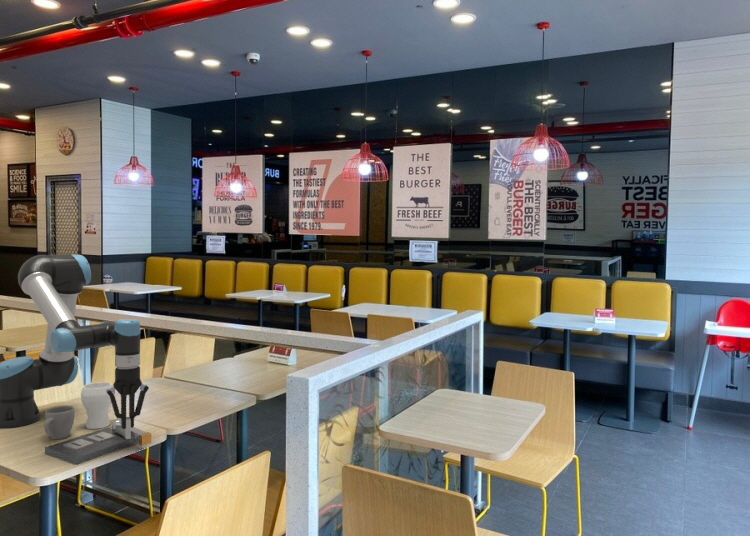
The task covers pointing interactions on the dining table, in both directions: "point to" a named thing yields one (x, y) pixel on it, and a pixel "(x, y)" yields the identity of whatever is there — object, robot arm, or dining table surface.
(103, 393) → the cup
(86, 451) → the chassis
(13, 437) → the dining table surface
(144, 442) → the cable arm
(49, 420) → the mug
